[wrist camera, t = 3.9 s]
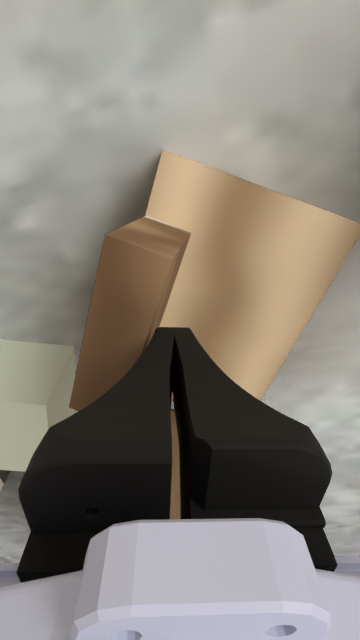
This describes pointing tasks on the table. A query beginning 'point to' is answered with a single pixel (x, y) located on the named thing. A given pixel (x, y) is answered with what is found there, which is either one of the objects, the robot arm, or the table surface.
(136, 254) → the walnut block
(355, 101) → the table surface
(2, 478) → the wine bottle
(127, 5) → the table surface
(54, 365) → the sage cube
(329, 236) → the oak step
